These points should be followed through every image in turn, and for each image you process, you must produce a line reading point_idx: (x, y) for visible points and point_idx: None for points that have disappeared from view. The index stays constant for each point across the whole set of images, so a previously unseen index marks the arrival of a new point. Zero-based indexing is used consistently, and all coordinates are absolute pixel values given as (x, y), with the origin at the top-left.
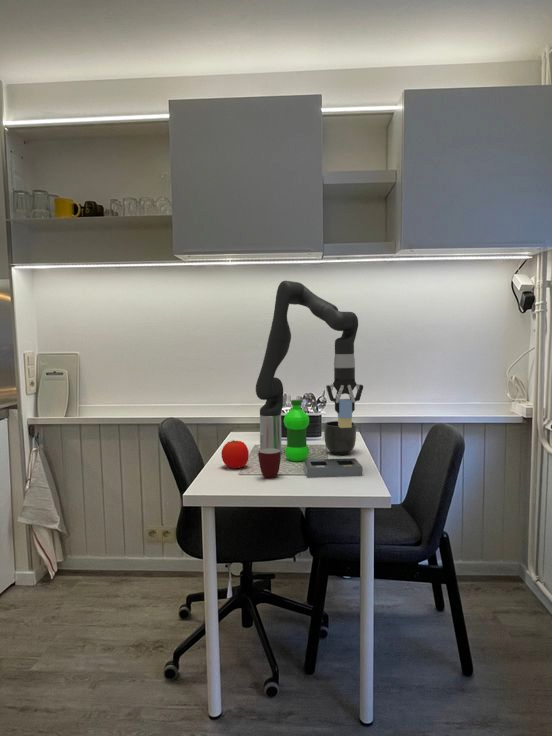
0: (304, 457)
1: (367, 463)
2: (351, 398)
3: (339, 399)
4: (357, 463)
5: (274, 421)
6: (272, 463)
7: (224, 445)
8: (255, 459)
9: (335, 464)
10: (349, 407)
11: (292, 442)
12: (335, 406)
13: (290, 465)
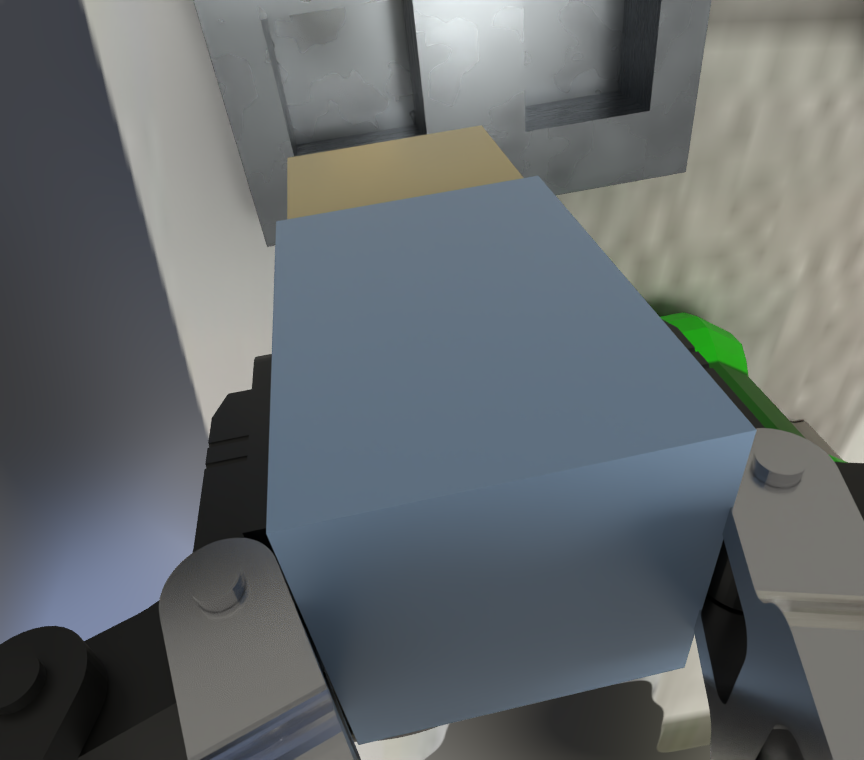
0: None
1: (186, 343)
2: (291, 659)
3: (739, 530)
4: (233, 58)
5: None
6: None
7: None
8: (855, 357)
9: (445, 9)
10: (350, 342)
11: (750, 389)
12: (723, 380)
13: (702, 254)
